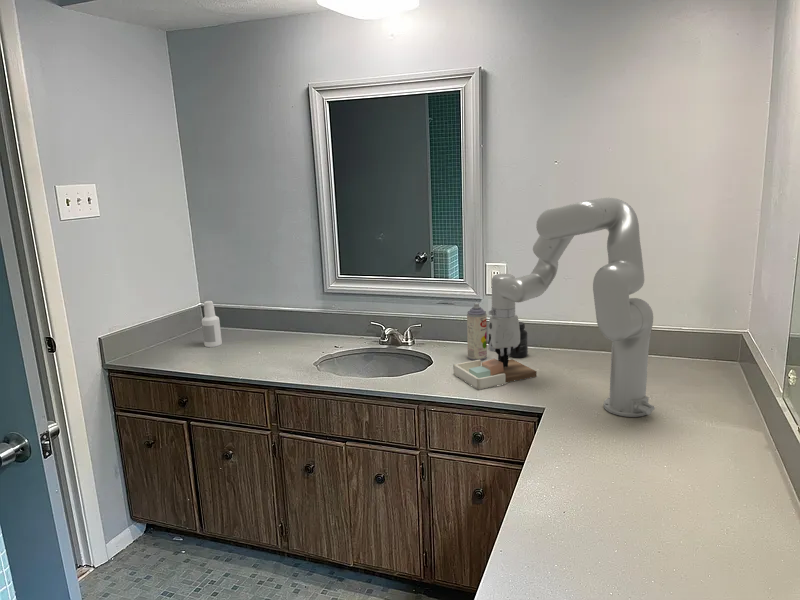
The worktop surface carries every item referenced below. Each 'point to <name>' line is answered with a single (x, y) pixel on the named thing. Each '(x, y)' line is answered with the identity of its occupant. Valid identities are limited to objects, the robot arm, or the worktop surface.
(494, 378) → the box
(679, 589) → the worktop surface
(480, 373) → the teal tile
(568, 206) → the robot arm
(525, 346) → the supplement bottle
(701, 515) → the worktop surface
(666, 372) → the worktop surface
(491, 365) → the clay tile
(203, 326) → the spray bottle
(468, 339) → the aerosol can
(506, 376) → the walnut board
